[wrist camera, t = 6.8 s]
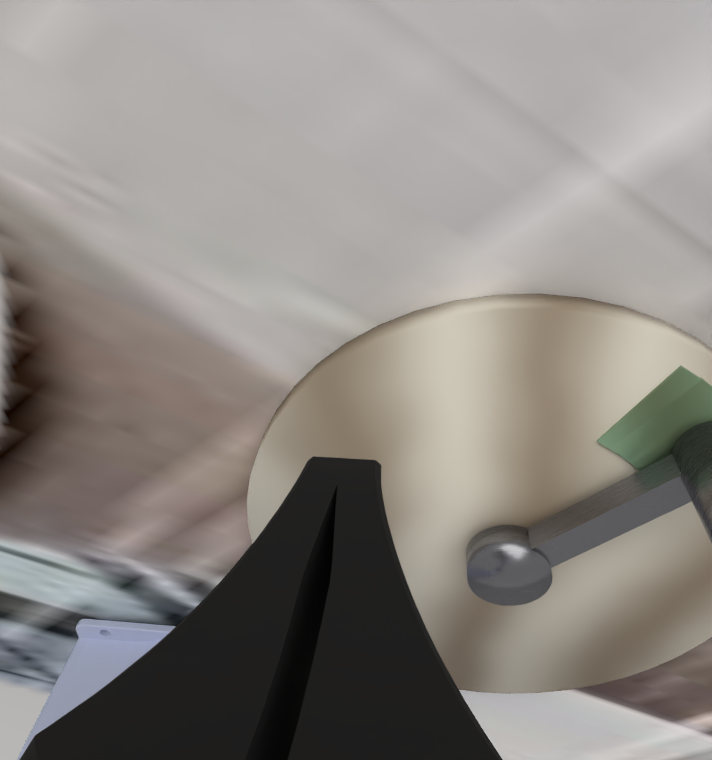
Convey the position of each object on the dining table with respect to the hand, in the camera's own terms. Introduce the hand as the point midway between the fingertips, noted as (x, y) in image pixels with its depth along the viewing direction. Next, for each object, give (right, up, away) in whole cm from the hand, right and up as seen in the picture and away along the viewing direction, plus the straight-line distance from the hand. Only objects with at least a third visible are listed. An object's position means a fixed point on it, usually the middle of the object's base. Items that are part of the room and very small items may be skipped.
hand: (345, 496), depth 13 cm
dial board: (+6, -3, +13) cm, 15 cm away
